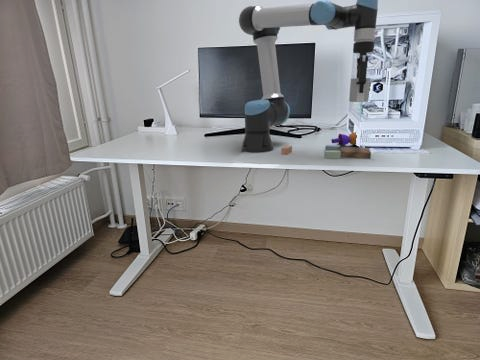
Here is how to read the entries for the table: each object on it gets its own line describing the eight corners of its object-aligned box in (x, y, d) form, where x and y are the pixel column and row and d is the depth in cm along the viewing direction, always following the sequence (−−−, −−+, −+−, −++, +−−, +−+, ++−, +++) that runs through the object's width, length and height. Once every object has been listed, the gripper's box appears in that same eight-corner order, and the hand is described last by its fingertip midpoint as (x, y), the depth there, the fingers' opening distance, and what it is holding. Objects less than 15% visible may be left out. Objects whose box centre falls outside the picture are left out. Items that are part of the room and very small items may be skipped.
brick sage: (325, 159, 130) (325, 152, 129) (324, 157, 133) (324, 150, 132) (340, 159, 130) (340, 152, 129) (338, 157, 132) (339, 150, 132)
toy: (333, 153, 150) (366, 148, 148) (332, 137, 148) (365, 132, 145) (330, 147, 161) (360, 142, 158) (328, 132, 158) (359, 127, 155)
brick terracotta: (287, 155, 139) (287, 148, 138) (281, 154, 140) (281, 148, 140) (291, 152, 144) (292, 146, 143) (285, 151, 146) (285, 145, 145)
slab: (339, 157, 131) (340, 151, 131) (339, 152, 141) (339, 147, 140) (370, 158, 128) (371, 152, 127) (368, 153, 137) (368, 147, 137)
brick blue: (325, 152, 142) (325, 146, 142) (326, 151, 145) (326, 144, 144) (338, 153, 140) (339, 146, 139) (339, 152, 142) (340, 145, 141)
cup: (348, 102, 125) (350, 78, 122) (350, 100, 133) (352, 78, 131) (367, 102, 122) (370, 77, 119) (368, 100, 131) (370, 78, 128)
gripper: (378, 37, 110) (371, 102, 116) (371, 44, 130) (366, 99, 137) (355, 38, 112) (350, 102, 118) (352, 45, 132) (348, 99, 139)
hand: (359, 101), depth 128 cm, fingers closed on cup, 10 cm apart
